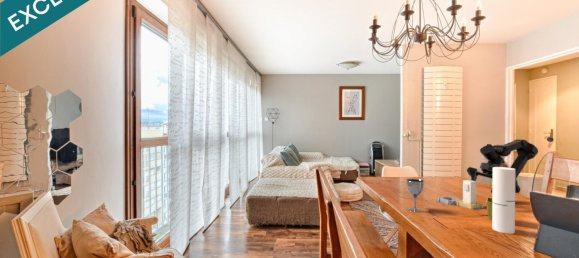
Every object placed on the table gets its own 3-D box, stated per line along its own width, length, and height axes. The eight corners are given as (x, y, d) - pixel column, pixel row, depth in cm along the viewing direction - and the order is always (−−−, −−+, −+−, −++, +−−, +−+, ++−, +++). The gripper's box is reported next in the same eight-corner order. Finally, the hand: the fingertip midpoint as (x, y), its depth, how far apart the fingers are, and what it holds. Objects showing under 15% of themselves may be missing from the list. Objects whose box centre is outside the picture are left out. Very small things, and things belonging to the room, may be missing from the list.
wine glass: (420, 208, 138) (420, 178, 138) (426, 213, 130) (426, 182, 130) (404, 207, 139) (404, 178, 139) (409, 212, 131) (409, 181, 131)
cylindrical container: (519, 234, 104) (519, 169, 104) (498, 232, 106) (498, 169, 105) (508, 227, 111) (508, 167, 111) (488, 226, 113) (489, 166, 112)
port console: (443, 200, 153) (443, 194, 153) (485, 208, 138) (485, 202, 138) (434, 203, 145) (434, 198, 145) (478, 212, 130) (478, 206, 130)
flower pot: (511, 226, 113) (511, 204, 113) (486, 221, 118) (486, 201, 118) (510, 220, 120) (510, 200, 120) (486, 216, 125) (486, 197, 125)
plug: (468, 204, 141) (468, 179, 141) (475, 206, 137) (476, 181, 137) (462, 205, 139) (462, 180, 139) (469, 207, 135) (469, 182, 135)
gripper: (470, 152, 148) (457, 176, 144) (511, 161, 133) (499, 187, 129) (475, 163, 154) (463, 186, 150) (515, 173, 138) (503, 198, 135)
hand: (481, 189), depth 141 cm, fingers open, 9 cm apart
